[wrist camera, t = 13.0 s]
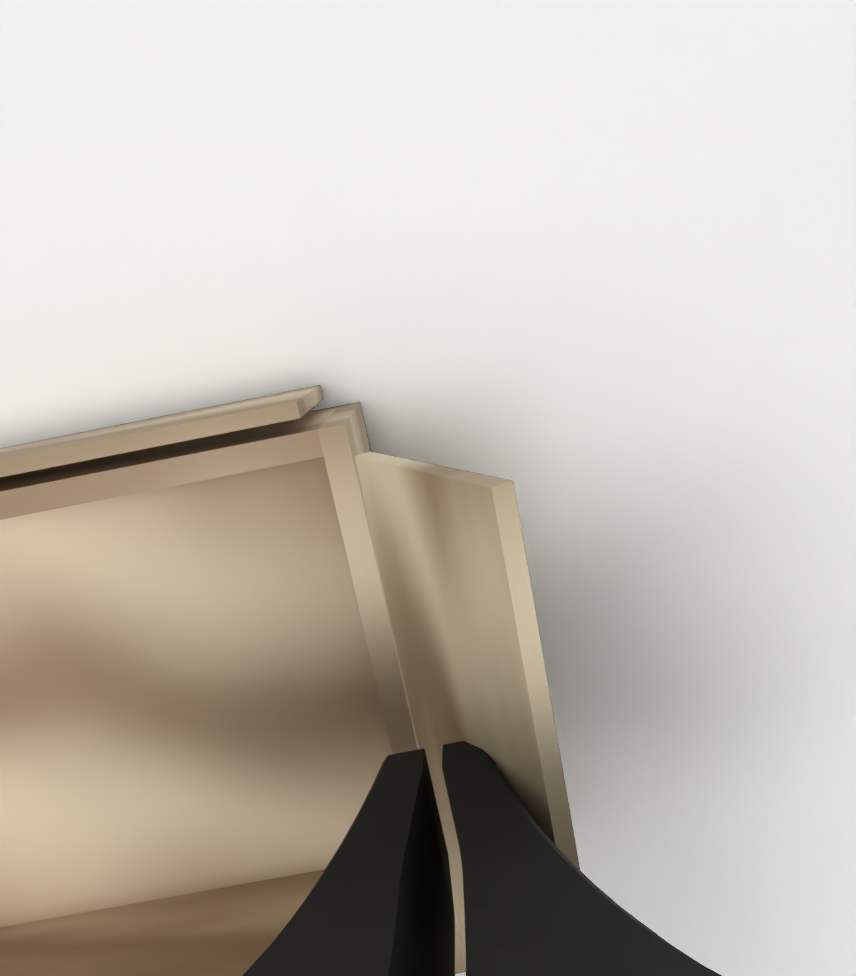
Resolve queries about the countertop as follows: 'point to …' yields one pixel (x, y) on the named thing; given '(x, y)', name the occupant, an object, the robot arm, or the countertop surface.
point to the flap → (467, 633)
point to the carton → (186, 684)
